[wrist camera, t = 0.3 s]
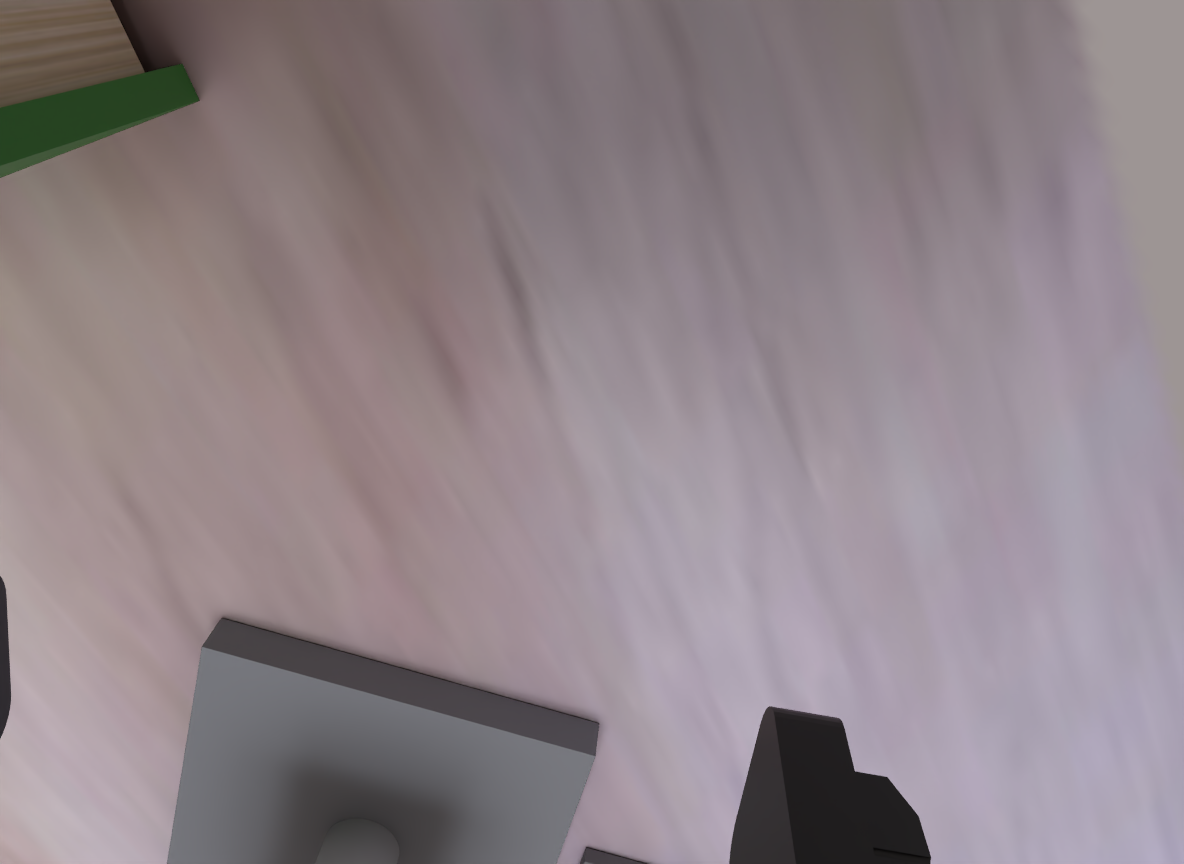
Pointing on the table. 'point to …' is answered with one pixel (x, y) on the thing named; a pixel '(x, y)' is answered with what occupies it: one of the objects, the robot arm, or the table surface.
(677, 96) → the table surface
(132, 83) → the hardback book
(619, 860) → the rubber mat
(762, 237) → the table surface
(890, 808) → the robot arm
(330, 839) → the grey peg stand
